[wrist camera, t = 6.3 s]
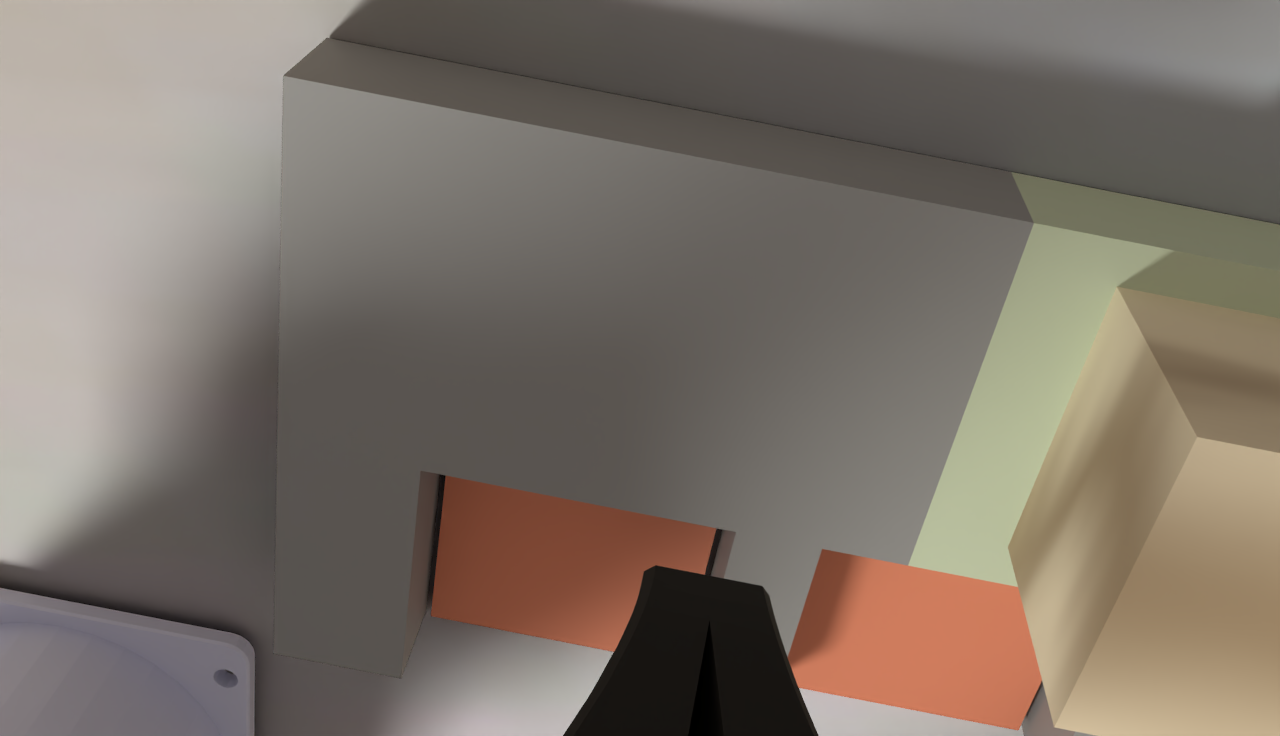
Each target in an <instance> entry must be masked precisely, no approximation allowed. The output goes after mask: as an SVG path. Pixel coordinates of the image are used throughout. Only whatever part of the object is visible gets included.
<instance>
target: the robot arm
mask: <svg viewBox="0 0 1280 736" xmlns="http://www.w3.org/2000/svg"><path fill="white" fill-rule="evenodd" d="M225 670H228V671H231V672H232V673H233V674H231V673H229V672H226V671H225ZM254 732H255V653H254V649H253V647H252V645H251V644H250V643H249V641H248V640H246V639H245V638H243V637H242V636H240V635H237V634H234V633H230V632H225V631H220V630H215V629H210V628H204V627H199V626H194V625H189V624H184V623H179V622H174V621H168V620H163V619H158V618H153V617H148V616H143V615H138V614H132V613H127V612H122V611H117V610H112V609H107V608H102V607H96V606H91V605H86V604H81V603H76V602H71V601H65V600H60V599H55V598H50V597H45V596H40V595H35V594H29V593H24V592H19V591H14V590H9V589H4V588H0V736H254ZM563 736H818V734H817V731H816V729H815V727H814V724H813V722H812V719H811V717H810V715H809V712H808V710H807V708H806V705H805V703H804V700H803V698H802V695H801V693H800V690H799V688H798V685H797V682H796V680H795V677H794V674H793V671H792V668H791V666H790V663H789V660H788V657H787V654H786V651H785V648H784V645H783V642H782V639H781V636H780V633H779V630H778V626H777V623H776V619H775V616H774V612H773V608H772V604H771V600H770V596H769V594H768V593H767V592H766V590H765V589H764V587H763V586H760V585H755V584H750V583H745V582H740V581H735V580H729V579H724V578H719V577H714V576H709V575H704V574H698V573H693V572H688V571H683V570H678V569H673V568H667V567H662V566H657V565H655V566H653V567H651V568H649V569H647V570H645V571H644V573H643V577H642V582H641V586H640V591H639V595H638V599H637V602H636V605H635V607H634V610H633V613H632V615H631V617H630V620H629V622H628V624H627V626H626V629H625V631H624V633H623V635H622V637H621V639H620V641H619V644H618V646H617V648H616V649H615V651H614V653H613V655H612V657H611V658H610V660H609V662H608V664H607V666H606V667H605V669H604V671H603V673H602V675H601V677H600V678H599V680H598V682H597V684H596V686H595V687H594V689H593V691H592V692H591V694H590V696H589V697H588V699H587V700H586V702H585V703H584V705H583V706H582V708H581V709H580V711H579V712H578V714H577V715H576V717H575V719H574V720H573V722H572V723H571V725H570V726H569V728H568V729H567V731H566V732H565V734H564V735H563Z"/></svg>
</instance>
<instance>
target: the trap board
mask: <svg viewBox="0 0 1280 736" xmlns="http://www.w3.org/2000/svg"><path fill="white" fill-rule="evenodd" d="M1116 287H1122V288H1127V289H1132V290H1137V291H1142V292H1147V293H1153V294H1158V295H1163V296H1168V297H1173V298H1178V299H1183V300H1188V301H1193V302H1199V303H1204V304H1209V305H1214V306H1219V307H1224V308H1229V309H1234V310H1240V311H1245V312H1250V313H1255V314H1260V315H1265V316H1270V317H1275V318H1280V225H1279V224H1274V223H1269V222H1264V221H1258V220H1253V219H1248V218H1243V217H1238V216H1233V215H1228V214H1223V213H1218V212H1213V211H1207V210H1202V209H1197V208H1192V207H1187V206H1182V205H1177V204H1172V203H1167V202H1162V201H1156V200H1151V199H1146V198H1141V197H1136V196H1131V195H1126V194H1121V193H1116V192H1111V191H1106V190H1100V189H1095V188H1090V187H1085V186H1080V185H1075V184H1070V183H1065V182H1060V181H1055V180H1049V179H1044V178H1039V177H1034V176H1029V175H1024V174H1019V173H1014V172H1009V171H1004V170H998V169H993V168H988V167H983V166H978V165H973V164H968V163H963V162H958V161H953V160H947V159H942V158H937V157H932V156H927V155H922V154H917V153H912V152H907V151H902V150H897V149H891V148H886V147H881V146H876V145H871V144H866V143H861V142H856V141H851V140H846V139H840V138H835V137H830V136H825V135H820V134H815V133H810V132H805V131H800V130H795V129H789V128H784V127H779V126H774V125H769V124H764V123H759V122H754V121H749V120H744V119H738V118H733V117H728V116H723V115H718V114H713V113H708V112H703V111H698V110H693V109H688V108H682V107H677V106H672V105H667V104H662V103H657V102H652V101H647V100H642V99H637V98H631V97H626V96H621V95H616V94H611V93H606V92H601V91H596V90H591V89H586V88H580V87H575V86H570V85H565V84H560V83H555V82H550V81H545V80H540V79H535V78H529V77H524V76H519V75H514V74H509V73H504V72H499V71H494V70H489V69H484V68H479V67H473V66H468V65H463V64H458V63H453V62H448V61H443V60H438V59H433V58H428V57H422V56H417V55H412V54H407V53H402V52H397V51H392V50H387V49H382V48H377V47H371V46H366V45H361V44H356V43H351V42H346V41H341V40H336V39H331V38H326V39H325V40H324V41H323V42H322V43H320V44H319V45H318V46H317V47H316V48H315V49H314V50H312V51H311V52H310V53H309V54H308V55H307V56H305V57H304V58H303V59H302V60H301V61H300V62H299V63H297V64H296V65H295V66H294V67H293V68H292V69H290V70H289V71H288V72H287V73H286V74H285V75H284V76H283V115H282V173H281V232H280V291H279V350H278V409H277V467H276V526H275V585H274V644H273V654H277V655H283V656H288V657H293V658H298V659H303V660H308V661H313V662H319V663H324V664H329V665H334V666H339V667H344V668H350V669H355V670H360V671H365V672H370V673H375V674H380V675H386V676H391V677H396V678H402V675H403V672H404V670H405V667H406V664H407V661H408V659H409V656H410V653H411V650H412V648H413V645H414V642H415V639H416V637H417V634H418V631H419V628H420V626H421V623H422V620H423V617H424V615H425V612H426V609H427V601H428V592H429V582H430V573H431V563H432V553H433V544H434V534H435V524H436V515H437V505H438V495H439V486H440V476H441V475H446V478H445V487H444V497H443V506H442V515H441V525H440V534H439V544H438V553H437V562H436V572H435V581H434V591H433V600H432V609H431V616H433V617H438V618H443V619H448V620H453V621H459V622H464V623H469V624H474V625H479V626H484V627H489V628H495V629H500V630H505V631H510V632H515V633H520V634H525V635H531V636H536V637H541V638H546V639H551V640H556V641H561V642H567V643H572V644H577V645H582V646H587V647H592V648H597V649H603V650H608V651H613V652H614V651H615V649H616V648H617V646H618V644H619V641H620V639H621V637H622V635H623V633H624V631H625V629H626V626H627V624H628V622H629V620H630V617H631V615H632V613H633V610H634V607H635V605H636V602H637V599H638V595H639V591H640V586H641V582H642V577H643V573H644V571H645V570H647V569H649V568H651V567H653V566H655V565H657V566H662V567H667V568H673V569H678V570H683V571H688V572H693V573H698V574H704V575H705V571H706V567H707V563H708V560H709V556H710V552H711V548H712V544H713V540H714V536H715V532H716V528H718V529H722V533H721V537H720V541H719V545H718V549H717V552H716V556H715V560H714V564H713V568H712V572H711V575H710V576H714V577H719V578H724V579H729V580H735V581H740V582H745V583H750V584H755V585H760V586H763V587H764V589H765V590H766V592H767V593H768V594H769V596H770V600H771V604H772V608H773V612H774V616H775V619H776V623H777V626H778V630H779V633H780V636H781V639H782V642H783V645H784V648H785V651H786V654H787V657H788V660H789V663H790V666H791V668H792V671H793V674H794V677H795V680H796V682H797V685H798V688H803V689H808V690H813V691H819V692H824V693H829V694H834V695H839V696H844V697H849V698H855V699H860V700H865V701H870V702H875V703H880V704H885V705H891V706H896V707H901V708H906V709H911V710H916V711H921V712H927V713H932V714H937V715H942V716H947V717H952V718H957V719H963V720H968V721H973V722H978V723H983V724H988V725H994V726H999V727H1004V728H1009V729H1014V730H1019V728H1020V726H1021V724H1022V728H1023V733H1024V736H1096V735H1091V734H1086V733H1080V732H1075V731H1070V730H1065V729H1060V728H1055V727H1054V725H1053V721H1052V717H1051V713H1050V709H1049V705H1048V701H1047V697H1046V694H1045V690H1044V686H1043V682H1041V681H1042V678H1041V674H1040V670H1039V666H1038V663H1037V659H1036V655H1035V651H1034V647H1033V643H1032V639H1031V635H1030V632H1029V628H1028V624H1027V620H1026V616H1025V612H1024V608H1023V604H1022V601H1021V597H1020V593H1019V589H1018V585H1017V581H1016V577H1015V573H1014V570H1013V566H1012V562H1011V558H1010V554H1009V550H1008V545H1009V543H1010V541H1011V538H1012V536H1013V533H1014V531H1015V529H1016V526H1017V524H1018V521H1019V519H1020V517H1021V514H1022V512H1023V509H1024V507H1025V505H1026V502H1027V500H1028V498H1029V495H1030V493H1031V490H1032V488H1033V486H1034V483H1035V481H1036V478H1037V476H1038V474H1039V471H1040V469H1041V466H1042V464H1043V462H1044V459H1045V457H1046V454H1047V452H1048V450H1049V447H1050V445H1051V443H1052V440H1053V438H1054V435H1055V433H1056V431H1057V428H1058V426H1059V423H1060V421H1061V419H1062V416H1063V414H1064V411H1065V409H1066V407H1067V404H1068V402H1069V399H1070V397H1071V395H1072V392H1073V390H1074V388H1075V385H1076V383H1077V380H1078V378H1079V376H1080V373H1081V371H1082V368H1083V366H1084V364H1085V361H1086V359H1087V356H1088V354H1089V352H1090V349H1091V347H1092V344H1093V342H1094V340H1095V337H1096V335H1097V333H1098V330H1099V328H1100V325H1101V323H1102V321H1103V318H1104V316H1105V313H1106V311H1107V309H1108V306H1109V304H1110V301H1111V299H1112V297H1113V294H1114V292H1115V290H1116ZM1033 698H1034V699H1033ZM1032 700H1033V701H1032ZM1025 715H1026V716H1025ZM1024 717H1025V718H1024Z"/></svg>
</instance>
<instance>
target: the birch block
mask: <svg viewBox="0 0 1280 736" xmlns="http://www.w3.org/2000/svg"><path fill="white" fill-rule="evenodd" d="M1008 550H1009V554H1010V558H1011V562H1012V566H1013V570H1014V573H1015V577H1016V581H1017V585H1018V589H1019V593H1020V597H1021V601H1022V604H1023V608H1024V612H1025V616H1026V620H1027V624H1028V628H1029V632H1030V635H1031V639H1032V643H1033V647H1034V651H1035V655H1036V659H1037V663H1038V666H1039V670H1040V674H1041V678H1042V682H1043V686H1044V690H1045V694H1046V697H1047V701H1048V705H1049V709H1050V713H1051V717H1052V721H1053V725H1054V727H1055V728H1060V729H1065V730H1070V731H1075V732H1080V733H1086V734H1091V735H1096V736H1280V318H1275V317H1270V316H1265V315H1260V314H1255V313H1250V312H1245V311H1240V310H1234V309H1229V308H1224V307H1219V306H1214V305H1209V304H1204V303H1199V302H1193V301H1188V300H1183V299H1178V298H1173V297H1168V296H1163V295H1158V294H1153V293H1147V292H1142V291H1137V290H1132V289H1127V288H1122V287H1116V290H1115V292H1114V294H1113V297H1112V299H1111V301H1110V304H1109V306H1108V309H1107V311H1106V313H1105V316H1104V318H1103V321H1102V323H1101V325H1100V328H1099V330H1098V333H1097V335H1096V337H1095V340H1094V342H1093V344H1092V347H1091V349H1090V352H1089V354H1088V356H1087V359H1086V361H1085V364H1084V366H1083V368H1082V371H1081V373H1080V376H1079V378H1078V380H1077V383H1076V385H1075V388H1074V390H1073V392H1072V395H1071V397H1070V399H1069V402H1068V404H1067V407H1066V409H1065V411H1064V414H1063V416H1062V419H1061V421H1060V423H1059V426H1058V428H1057V431H1056V433H1055V435H1054V438H1053V440H1052V443H1051V445H1050V447H1049V450H1048V452H1047V454H1046V457H1045V459H1044V462H1043V464H1042V466H1041V469H1040V471H1039V474H1038V476H1037V478H1036V481H1035V483H1034V486H1033V488H1032V490H1031V493H1030V495H1029V498H1028V500H1027V502H1026V505H1025V507H1024V509H1023V512H1022V514H1021V517H1020V519H1019V521H1018V524H1017V526H1016V529H1015V531H1014V533H1013V536H1012V538H1011V541H1010V543H1009V545H1008Z"/></svg>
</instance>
